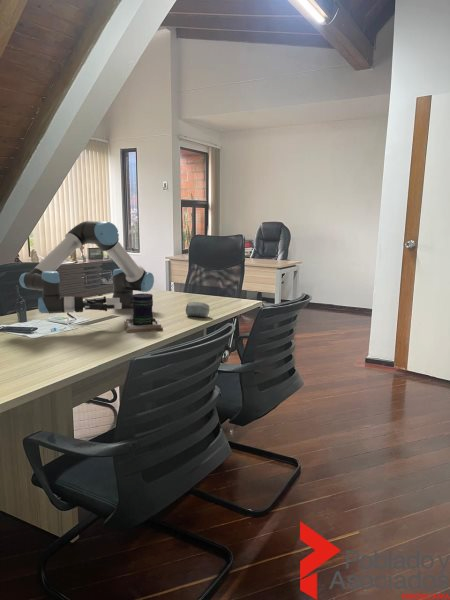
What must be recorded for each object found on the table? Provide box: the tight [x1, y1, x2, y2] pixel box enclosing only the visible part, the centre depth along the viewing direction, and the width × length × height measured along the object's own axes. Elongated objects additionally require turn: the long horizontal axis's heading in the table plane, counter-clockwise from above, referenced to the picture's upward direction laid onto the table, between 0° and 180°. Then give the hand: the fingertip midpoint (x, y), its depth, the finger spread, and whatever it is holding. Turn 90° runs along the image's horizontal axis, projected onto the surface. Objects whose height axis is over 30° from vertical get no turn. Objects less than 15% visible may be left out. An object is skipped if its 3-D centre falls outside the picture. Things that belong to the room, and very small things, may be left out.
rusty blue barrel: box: [132, 292, 154, 326], centre depth 211 cm, size 10×10×15 cm
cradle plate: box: [124, 317, 164, 333], centre depth 212 cm, size 17×17×3 cm
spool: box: [185, 301, 211, 318], centre depth 238 cm, size 14×10×10 cm
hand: (120, 303), depth 207 cm, fingers open, 13 cm apart
